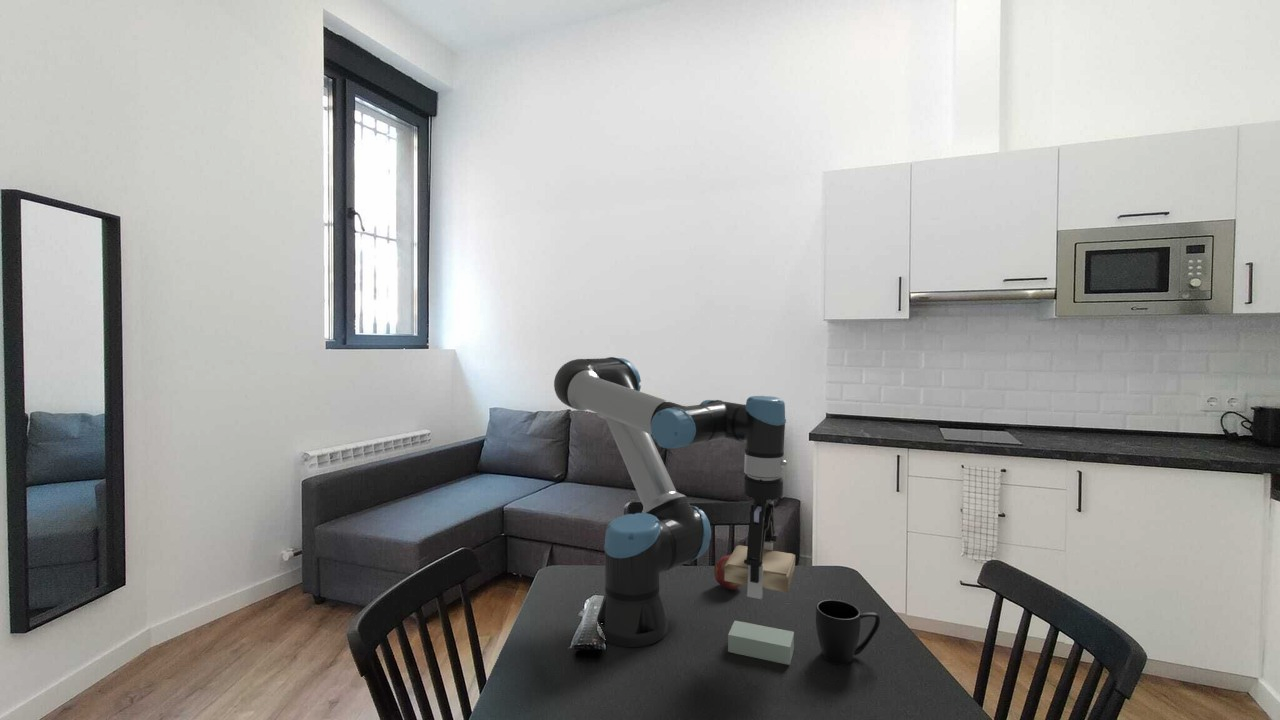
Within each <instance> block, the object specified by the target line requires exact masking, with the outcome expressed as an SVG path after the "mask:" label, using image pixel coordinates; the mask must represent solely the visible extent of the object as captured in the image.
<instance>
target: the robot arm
mask: <svg viewBox="0 0 1280 720" xmlns="http://www.w3.org/2000/svg"><path fill="white" fill-rule="evenodd" d="M554 376H555V377H554V380H553V388H554V392H555V395H556V397H557V399H559V400H560V402H561V403H563V404H564V405H565V406H568V407H570V408H572V409H574V410H577V411H582V412H583V411H587V410H589V411H591V412H594V413H596V415H597V417H598V418H601V419H604V420H605V421H606V424H607V426H608V428H609V430H610V433H611V435H612V437H613V439H614V442H615V444H616V446H617V448H618V451H619V453H620V455H621V457H622V460H623V463H624V464H625V467H626V470H627V471H628V474H629V476H630V479H631V481H632V483H633V487H634V488H635V491H636V493H637V495H638V498H639V500H640V502H641V504H642V506H643V509H642V511H641V512H635V513H627V514H623V515H620V516H618V517H616V518H614V519H613V520H612V521H610V522H609V524H608V525H607V526H606V530H605V537H604V538H605V539H604V544H603V547H604V548H603V549H604V594H603V598H602V601H601V604H600V607H599V611H598V613H597V617H596V623H597V622H598V624H599V626H600V627H601V629H602V631H603V633H604V635H605V639H606V641H605V642H606V643H608V644H611V645H614V646H617V647H618V646H619V647H623V648H639V647H645V646H646V647H647V646H650V645H654V644H655V643H657V642H659V641H661V640H662V639H664V637H665V636H666V634H668V629H669V627H668V624H669V623H668V622H669V621H668V615H667V612H666V608H665V605H664V603H663V599H662V597H661V593H660V582H661V581H660V577H661V576H660V575H661V574H662V573H664V572H667V571H669V570H672V569H674V568H677V567H679V566H681V565H684V564H689V563H690V564H691V563H692V562H693V561H695V560H697V559H698V558H700V557H702V556H703V555H704V554H705V553H706V552H707V550H708V549H709V547H710V541H711V539H712V530H711V529H712V527H711V524H710V520H709V519H708V516H707V514H706V513H705V511H703V509H699V507H698V506H695V505H690V502H689V500H688V497H687V496H686V495H685V494H683V493H680V492H679V491H677V489H676V488H675V485H674V483H673V481H672V479H671V476H670V475H669V472H668V470H667V468H666V466H665V463H664V461H663V459H662V457H661V455H660V452H659V451H658V449H657V446H656V444H655V442H656V443H657V445H658V446H659V447H661V448H664V449H666V450H667V449H668V450H669V449H681V448H685V447H688V446H692V445H698V444H702V443H709V442H712V441H718V440H732V441H737V442H741V443H744V460H743V461H744V462H743V463H744V464H743V472H744V473H745V475H744V476H743V493H744V494H745V496H746V497H749V498H752V499H754V501H753V504H751V506H750V511H749V527H748V538H747V547H748V549H747V560H744V564H747V565H748V585H747V593H746V596H747V597H749V598H752V599H759V600H763V592H764V591H763V589H764V588H763V564H762V563H763V562H762V559H763V550H764V549H766V550H772V551H774V550H773V549H774V542H777V537H778V536H777V535H775V533H776V531H775V500H777V499H778V500H779V499H780V498H782V496H783V493H784V478H783V477H782V476H783V475H784V467H785V466H787V465H788V462H787V461H786V460H784V456H785V454H784V453H785V450H784V449H785V433H786V432H785V430H786V423H787V419H786V403H785V401H784V400H783V399H782V398H780V397H776V396H767V395H766V396H765V395H754V396H749V397H748V398H747V399H746V403H745V404H742V403H736V402H735V403H734V402H731V401H723V400H720V399H713V400H712V399H706V400H703V401H701V402H700V404H696V405H681V404H678V403H676V402H671V401H670V400H666V399H664V398H661V397H658V396H654V395H651V394H648V393H645V392H643V391H641V387H642V386H641V384H640V383H641V382H642V380H641V375H640V374H639V370H638V369H637V367H636V366H635V365H634V363H632V362H631V361H630V360H628V359H626V358H623V357H614V356H611V357H610V356H609V357H603V358H576V359H573V360H570V361H568V362H565V363H564V364H563V365H562V366H560V367H559V369H558V370H557V372H556V374H555V375H554ZM651 435H652V436H651ZM755 558H756V559H755ZM601 623H603V624H601Z"/></svg>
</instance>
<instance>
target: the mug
mask: <svg viewBox="0 0 1280 720" xmlns="http://www.w3.org/2000/svg"><path fill="white" fill-rule="evenodd" d="M868 617H870V618H871V617H872V618H874V622H873V626H872V627H871V630H869V633H868V634H867V635H866V636H865V638H864V640H863V641H862V642H861V643H860V644H859V645H858V642H859V639H860V631H861V619H865V618H868ZM880 623H881V617H880V615H879V614H878V613H877V612H872V611H862V612H861V611H860V609H859V608H858V607H857V606H856V605H854V604H852V603H850V602H847V601H843V600H839V599H825V600H824V599H823V600H821V601H818V602H817V603H816V606H815V627H816V634H817V638H818V642H819V646H820V650H821V655H822V657H823V659H825V660H826V661H827V662H830V663H832V664H835V665H848V664H850V663H851V662H852V661H853V657H854V656H857V655H858V656H859V654H861V653H862V652H863V651H864V650H865V648H866V647H867V646H868V645H869V643H870V642H871V641H872V639H873V638H874V636H875V635H876V633H877V631H878V630H879V627H880Z"/></svg>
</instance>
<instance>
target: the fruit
mask: <svg viewBox="0 0 1280 720" xmlns="http://www.w3.org/2000/svg"><path fill="white" fill-rule="evenodd" d="M731 555H732V554H728V555H724V556H722V557H721V558H719V560H717V562H716V563H715V565H714V567H713V568H714V569H713V570H714V572H713V573H714V578H715V579H714V580H716V582H717V583H718V584H719V586H721V587H723V588H725V589H727V590H737V589H738V588H739V587H740V588H741V586H742V585H743V584H739V583H734V582H728V581H724V577H725V565H726V563H727V561H728V560H729V558H730V556H731Z"/></svg>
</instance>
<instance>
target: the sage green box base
mask: <svg viewBox="0 0 1280 720" xmlns="http://www.w3.org/2000/svg"><path fill="white" fill-rule="evenodd" d="M794 647H795V631H792V630H786V629H782V628H781V629H780V628H776V627H771V626H766V625H760V624H755V623H750V622H745V621H739V620H734V622H733V623H732V625H731V628H730V630H729V632H728V635H727V652H728V653H733V654H737V655H742V656H746V657H750V658H756V659H759V660H760V659H761V660H765V661H769V662H774V663H779V664H784V665H786V666H787V665H788V666H790V665H791V663H792V658H793V654H794V650H795V648H794Z"/></svg>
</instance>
